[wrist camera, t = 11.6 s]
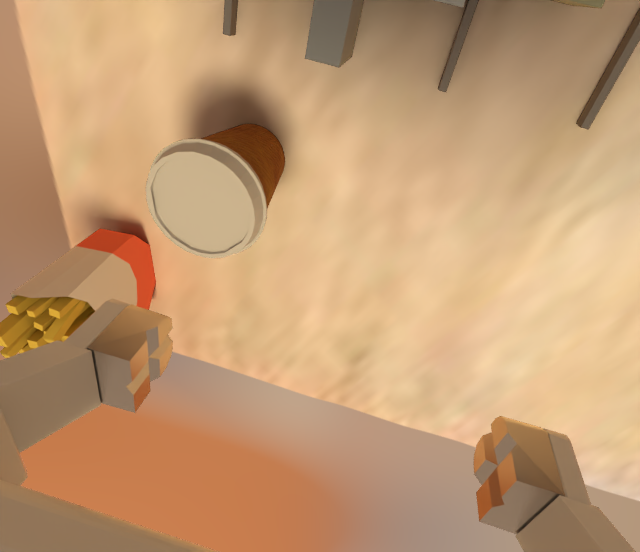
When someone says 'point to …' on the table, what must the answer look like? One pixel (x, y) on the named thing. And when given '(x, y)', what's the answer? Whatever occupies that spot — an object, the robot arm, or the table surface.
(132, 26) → the table surface
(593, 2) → the cube lane
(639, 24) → the lane rails
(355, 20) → the grey open rectangular tray
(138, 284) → the french fries container
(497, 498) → the robot arm
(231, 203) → the disposable coffee cup
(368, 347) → the table surface
